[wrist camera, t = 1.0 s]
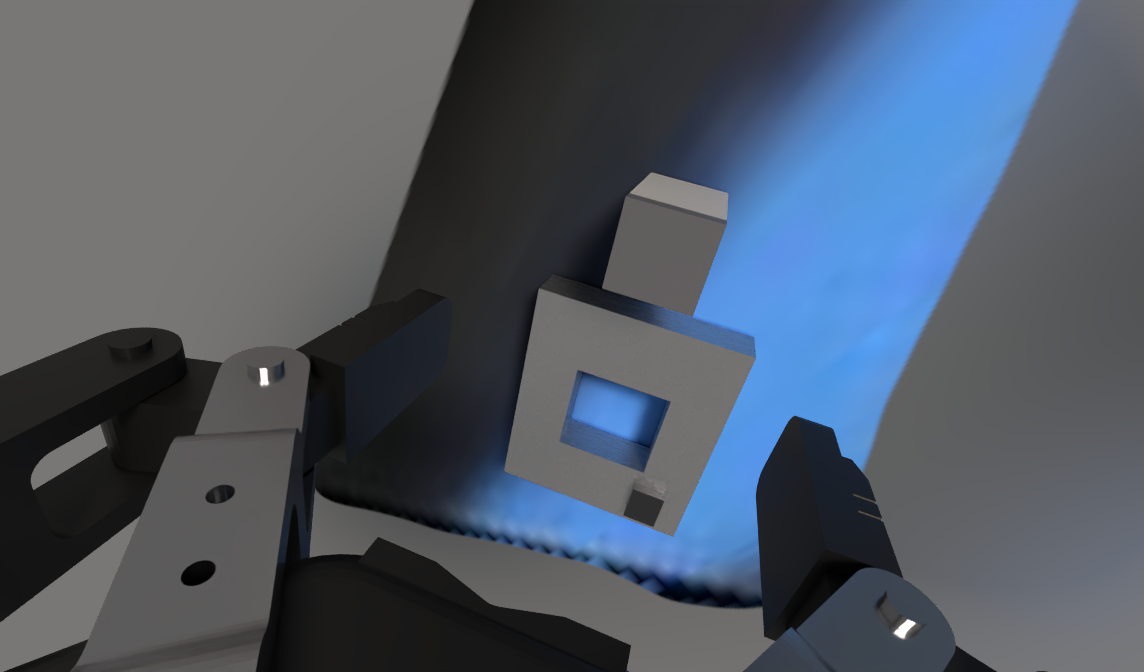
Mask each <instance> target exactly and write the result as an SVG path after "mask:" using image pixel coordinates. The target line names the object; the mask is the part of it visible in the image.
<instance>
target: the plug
mask: <svg viewBox="0 0 1144 672" xmlns="http://www.w3.org/2000/svg"><path fill="white" fill-rule="evenodd" d="M727 207H728V193H725V192H722V191H718V190H714V189H711V188H707V187H703V186H700V185H696V184H692V183H689V182H685V181H681V180H678V179H674V178H670V177H667V176H663V175H659V174H655V173H652V172H651V173H650V174H649V175H648V176H647V177H646V178H645V179H644V180H643V181H642V182H641V183H640V184H639V185H638V186H636V187H635V188H634V189H633V190H632V191H631V192H630V193H629V194H628V195H627V196H626V198H625V201H624V205H623V209H622V213H621V217H620V221H619V224H618V228H617V232H616V236H615V240H614V244H613V248H612V251H611V255H610V259H609V263H608V267H607V271H606V274H605V278H604V282H603V286H602V288H603V289H606V290H609V291H612V292H615V293H618V294H622V295H625V296H628V297H631V298H634V299H637V300H641V301H644V302H647V303H650V304H653V305H657V306H660V307H663V308H666V309H669V310H672V311H676V312H679V313H682V314H685V315H688V316H691V317H693V314H694V311H695V309H696V306H697V303H698V300H699V298H700V295H701V292H702V290H703V287H704V284H705V282H706V279H707V276H708V273H709V271H710V268H711V265H712V263H713V260H714V257H715V255H716V252H717V249H718V246H719V244H720V241H721V238H722V236H723V233H724V230H725V227H726V224H727Z"/></svg>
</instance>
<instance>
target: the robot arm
mask: <svg viewBox="0 0 1144 672" xmlns="http://www.w3.org/2000/svg"><path fill="white" fill-rule="evenodd" d="M451 314H452V303H451V300H450V299H449V298H446V297H443V296H440V295H437V294H434V293H431V292H428V291H425V290H422V289H417V290H415V291H414V292H412V293H410V294H409V295H407V296H405V297H404V298H402V299H400V300H399V301H397V302H394V301H391V302H387V303H383V304H379V305H375V306H371V307H369V308H367V309H366V310H364V311H362V312H360V313H359V314H357V315H355V318H350V319H348V320H347V321H345V322H343V323H342V325H341V326H340V325H338V326H336V327H335V328H333V329H331V330H329V331H327V332H326V333H324V334H322V335H321V336H319V337H317V338H315V339H314V340H312V341H310V342H308V343H307V344H305V345H303V346H301V347H300V348H298V349H296V350H294V349H291V348H286V347H277V346H270V347H269V346H268V347H258V348H253V349H248V350H245V351H242V352H239V353H237V354H235V355H233V356H231V357H230V358H228V359H227V360H225V362H223V363H220V362H212V361H205V360H196V359H190V358H185V354H184V349H183V344H182V340H181V338H180V337H179V336H178V335H177V334H175V333H173V332H170V331H167V330H164V329H158V328H129V329H122V330H117V331H112V332H109V333H105V334H102V335H99V336H97V337H94V338H92V339H89V340H87V341H85V342H82V343H80V344H77V345H75V346H72V347H70V348H67V349H65V350H63V351H60V352H58V353H55V354H53V355H50V356H48V357H45V358H43V359H41V360H38V361H36V362H33V363H31V364H28V365H26V366H23V367H21V368H19V369H16V370H14V371H11V372H9V373H6V374H4V375H2V376H0V622H1V621H3V620H4V619H5V618H6V617H8V616H9V615H10V614H12V613H13V612H14V611H16V610H17V609H18V608H20V607H21V606H22V605H24V604H25V603H26V602H27V601H29V600H30V599H31V598H33V597H34V596H35V595H37V594H38V593H39V592H41V591H42V590H43V589H44V588H46V587H47V586H48V585H49V584H51V583H52V582H54V581H55V580H56V579H58V578H59V577H60V576H62V575H63V574H64V573H65V572H67V571H68V570H69V569H71V568H72V567H73V566H75V565H76V564H77V563H78V562H80V561H81V560H83V559H84V558H85V557H87V556H88V555H89V554H90V553H92V552H93V551H94V550H96V549H97V548H98V547H100V546H101V545H102V544H104V543H105V542H106V541H108V540H109V539H110V538H111V537H113V536H114V535H115V534H117V533H118V532H119V531H121V530H122V529H123V528H124V527H126V526H127V525H129V524H130V523H131V522H132V521H134V520H135V519H136V518H138V517H139V516H140V515H141V516H140V519H139V521H138V524H137V526H136V528H135V530H134V533H133V535H132V537H131V540H130V542H129V545H128V547H127V549H126V552H125V554H124V556H123V559H122V561H121V564H120V566H119V568H118V571H117V573H116V575H115V578H114V580H113V582H112V585H111V587H110V590H109V592H108V594H107V597H106V599H105V601H104V604H103V606H102V608H101V611H100V613H99V616H98V618H97V621H96V623H95V625H94V628H93V630H92V632H91V635H90V637H89V639H88V640H85V641H83V642H80V643H78V644H75V645H72V646H70V647H67V648H64V649H62V650H59V651H57V652H54V653H51V654H49V655H46V656H43V657H41V658H38V659H36V660H33V661H30V662H28V663H25V664H23V665H20V666H17V667H15V668H12V669H9V670H7V671H4V672H629V671H627V664H628V659H629V653H630V647H631V645H629V644H626V643H624V642H622V641H619V640H617V639H615V638H612V637H610V636H608V635H605V634H603V633H601V632H598V631H596V630H594V629H591V628H589V627H586V626H584V625H582V624H580V623H577V622H575V621H573V620H570V619H568V618H566V617H560V616H554V615H548V614H542V613H536V612H529V611H523V610H516V609H510V608H503V607H498V606H494V605H491V604H489V603H487V602H486V601H485V600H483V599H482V598H481V597H480V596H478V595H477V594H476V593H475V592H473V591H472V590H471V589H470V588H468V587H467V586H466V585H465V584H463V583H462V582H461V581H459V580H458V579H457V578H456V577H454V576H453V575H452V574H451V573H450V572H448V571H447V570H446V569H444V568H443V567H442V566H441V565H439V564H438V563H437V562H435V561H433V560H430V559H428V558H426V557H424V556H421V555H419V554H416V553H414V552H412V551H410V550H407V549H405V548H403V547H400V546H398V545H396V544H393V543H391V542H389V541H386V540H384V539H382V538H379V537H378V538H377V539H376V540H375V542H374V543H373V544H372V545H371V546H370V548H369V549H368V550H367V551H366V553H365V554H364V555H363V556H361V555H348V554H337V555H322V556H316V557H311V558H310V540H311V529H312V517H313V505H314V493H315V481H316V463H317V462H319V461H320V460H321V459H322V458H323V457H324V456H328V457H330V458H333V459H335V460H338V461H340V462H343V463H345V464H347V463H348V462H349V461H350V460H351V459H352V458H353V457H354V456H355V455H357V454H358V453H359V452H360V451H361V450H362V449H363V448H364V447H365V446H366V445H367V444H368V443H369V442H370V441H371V440H372V439H373V438H374V437H376V436H377V435H378V434H379V433H380V432H381V431H382V430H383V429H384V428H385V427H386V426H387V425H388V424H389V423H390V422H391V421H392V420H394V419H395V418H396V417H397V416H398V415H399V414H400V413H401V412H402V411H403V410H404V409H405V408H406V407H407V406H408V405H409V404H410V403H411V402H413V401H414V400H415V399H416V398H417V397H418V396H419V395H420V394H421V393H422V392H423V391H424V390H425V389H426V388H427V387H428V386H429V385H430V384H432V383H433V382H434V381H435V380H436V379H437V378H438V376H439V375H440V373H441V371H442V370H443V367H444V365H445V362H446V359H447V353H448V343H449V333H450V324H451ZM99 424H100V425H101V428H102V431H103V434H104V437H105V440H106V443H107V446H106V447H105V448H103V449H101V450H100V451H98V452H96V453H95V454H93V455H92V456H90V457H88V458H86V459H85V460H83V461H81V462H80V463H78V464H76V465H75V466H73V467H71V468H70V469H68V470H66V471H65V472H63V473H61V474H60V475H58V476H56V477H55V478H53V479H51V480H50V481H48V482H46V483H45V484H43V485H41V486H40V487H38V488H36V489H35V490H33V488H32V485H31V474H32V472H33V470H34V468H35V466H36V465H37V464H38V463H39V461H40V460H41V459H42V458H43V457H44V456H46V455H47V454H48V453H50V452H51V451H53V450H55V449H56V448H58V447H60V446H62V445H64V444H65V443H67V442H69V441H71V440H72V439H74V438H76V437H78V436H80V435H82V434H83V433H85V432H87V431H89V430H90V429H92V428H94V427H96V426H98V425H99ZM875 501H876V500H875V497H874V495H873V492H872V489H871V486H870V483H869V481H868V479H867V478H866V477H865V475H864V474H863V473H862V472H861V470H860V469H859V468H858V467H857V465H856V464H855V463H854V462H853V460H851V459H848V458H845V457H843V456H841V453H840V449H839V446H838V443H837V439H836V436H835V433H834V430H833V429H832V428H830V427H827V426H824V425H821V424H818V423H815V422H812V421H809V420H806V419H803V418H801V417H798V416H794V417H792V418H791V419H790V420H789V422H788V423H787V425H786V427H785V429H784V431H783V432H782V434H781V436H780V438H779V440H778V442H777V443H776V445H775V447H774V449H773V451H772V453H771V455H770V456H769V458H768V460H767V462H766V464H765V466H764V468H763V470H762V472H761V474H760V477H759V481H758V485H757V491H756V505H757V522H758V538H759V555H760V572H761V589H762V606H763V621H764V636H765V637H767V638H769V639H772V640H774V641H775V642H774V643H773V644H772V645H771V646H770V647H769V648H768V649H767V650H766V651H765V652H763V653H762V654H761V655H760V656H759V657H758V658H757V659H756V660H755V661H754V662H753V663H752V664H751V665H749V666H748V668H746V669H745V670H744V671H743V672H996V671H995V670H993V669H992V668H989V667H988V666H987V665H985V664H984V663H982V662H980V661H979V660H977V659H976V658H974V657H972V656H971V655H969V654H968V653H966V652H965V651H963V650H962V649H960V648H959V647H957V646H956V643H955V637H954V634H953V631H952V629H951V627H950V625H949V623H948V621H947V620H946V618H945V617H944V615H943V614H942V612H941V611H940V610H939V609H938V607H937V606H936V605H935V604H934V603H933V602H932V601H931V600H930V599H929V598H928V597H927V596H926V595H925V594H924V593H923V592H922V591H920V590H919V589H918V588H917V587H915V586H914V585H912V584H911V583H910V582H908V581H906V580H905V579H903V576H902V573H901V570H900V567H899V565H898V562H897V559H896V556H895V554H894V551H893V548H892V545H891V542H890V539H889V537H888V534H887V531H886V528H885V526H884V523H883V522H882V521H881V518H882V517H881V514H880V511H879V509H878V506H877V505H876V504H875ZM1037 672H1046V671H1037Z"/></svg>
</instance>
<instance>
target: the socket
mask: <svg viewBox="0 0 1144 672" xmlns="http://www.w3.org/2000/svg"><path fill="white" fill-rule="evenodd" d="M755 359H756V353H755V341H754V337H751V336H748V335H745V334H742V333H739V332H735V331H732V330H729V329H726V328H723V327H720V326H716V325H713V324H710V323H707V322H704V321H701V320H697V319H694V318H691V317H688V316H685V315H681V314H678V313H675V312H672V311H669V310H666V309H662V308H659V307H656V306H653V305H650V304H647V303H643V302H640V301H637V300H634V299H631V298H627V297H624V296H621V295H618V294H615V293H612V292H608V291H605V290H602V289H599V288H596V287H593V286H589V285H586V284H583V283H580V282H577V281H573V280H570V279H567V278H564V277H561V276H558V275H554V274H553V275H552V276H551V277H550V278H549V279H548V280H547V281H546V282H545V283H544V284H543V285H542V286H541V287H540V288H539V291H538V296H537V302H536V307H535V312H534V317H533V322H532V328H531V333H530V338H529V343H528V349H527V354H526V359H525V364H524V369H523V375H522V380H521V385H520V390H519V396H518V401H517V406H516V411H515V416H514V422H513V427H512V432H511V437H510V443H509V448H508V453H507V458H506V463H505V469H504V471H505V472H507V473H510V474H512V475H515V476H518V477H520V478H523V479H525V480H528V481H530V482H533V483H536V484H538V485H541V486H543V487H546V488H549V489H551V490H554V491H556V492H559V493H561V494H564V495H567V496H569V497H572V498H574V499H577V500H579V501H582V502H585V503H587V504H590V505H592V506H595V507H598V508H600V509H603V510H605V511H608V512H610V513H613V514H616V515H618V516H621V517H623V518H626V519H629V520H631V521H634V522H636V523H639V524H641V525H644V526H647V527H649V528H652V529H654V530H657V531H660V532H662V533H665V534H667V535H670V536H672V537H673V536H674V534H675V532H676V530H677V527H678V525H679V523H680V521H681V519H682V517H683V514H684V512H685V510H686V508H687V506H688V504H689V501H690V499H691V497H692V495H693V493H694V491H695V489H696V486H697V484H698V482H699V480H700V478H701V476H702V473H703V471H704V469H705V467H706V465H707V463H708V460H709V458H710V456H711V454H712V452H713V450H714V448H715V445H716V443H717V441H718V439H719V437H720V435H721V432H722V430H723V428H724V426H725V424H726V422H727V419H728V417H729V415H730V413H731V411H732V409H733V407H734V404H735V402H736V400H737V398H738V396H739V394H740V391H741V389H742V387H743V385H744V383H745V381H746V378H747V376H748V374H749V372H750V370H751V368H752V366H753V363H754V361H755ZM583 372H586V373H589V374H592V375H595V376H598V377H600V378H603V379H606V380H609V381H612V382H615V383H618V384H621V385H624V386H627V387H630V388H632V389H635V390H638V391H641V392H644V393H647V394H650V395H653V396H656V397H659V398H661V399H664V400H667V403H666V406H665V408H664V411H663V414H662V416H661V419H660V422H659V424H658V427H657V430H656V432H655V435H654V438H653V440H652V443H651V445H650V448H648V447H645V446H643V445H640V444H637V443H634V442H632V441H629V440H626V439H623V438H620V437H618V436H615V435H612V434H609V433H607V432H604V431H601V430H598V429H596V428H593V427H590V426H587V425H585V424H582V423H579V422H576V421H573V420H571V415H572V411H573V407H574V404H575V400H576V396H577V392H578V388H579V385H580V381H581V377H582V373H583Z"/></svg>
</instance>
